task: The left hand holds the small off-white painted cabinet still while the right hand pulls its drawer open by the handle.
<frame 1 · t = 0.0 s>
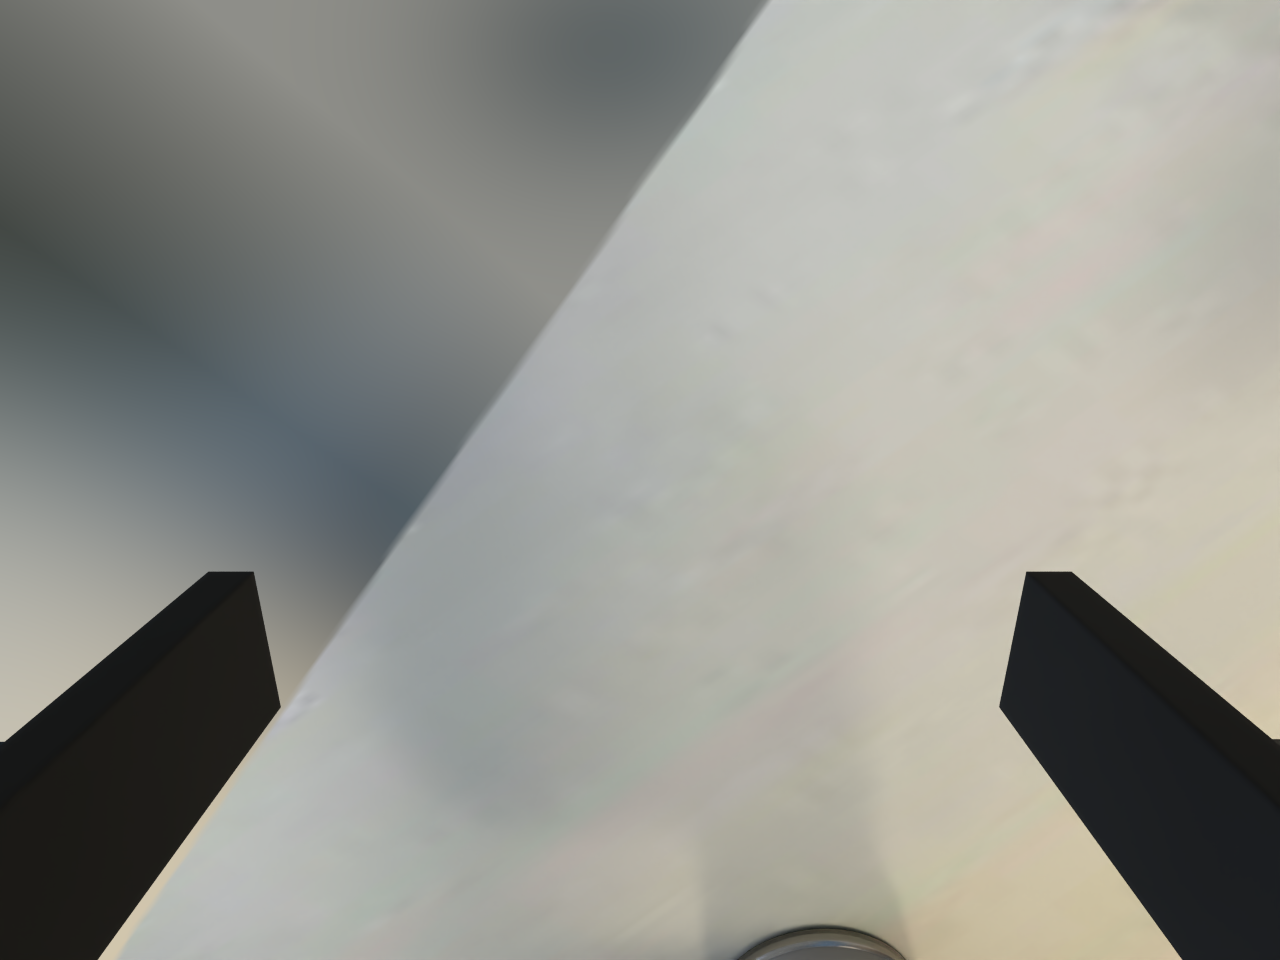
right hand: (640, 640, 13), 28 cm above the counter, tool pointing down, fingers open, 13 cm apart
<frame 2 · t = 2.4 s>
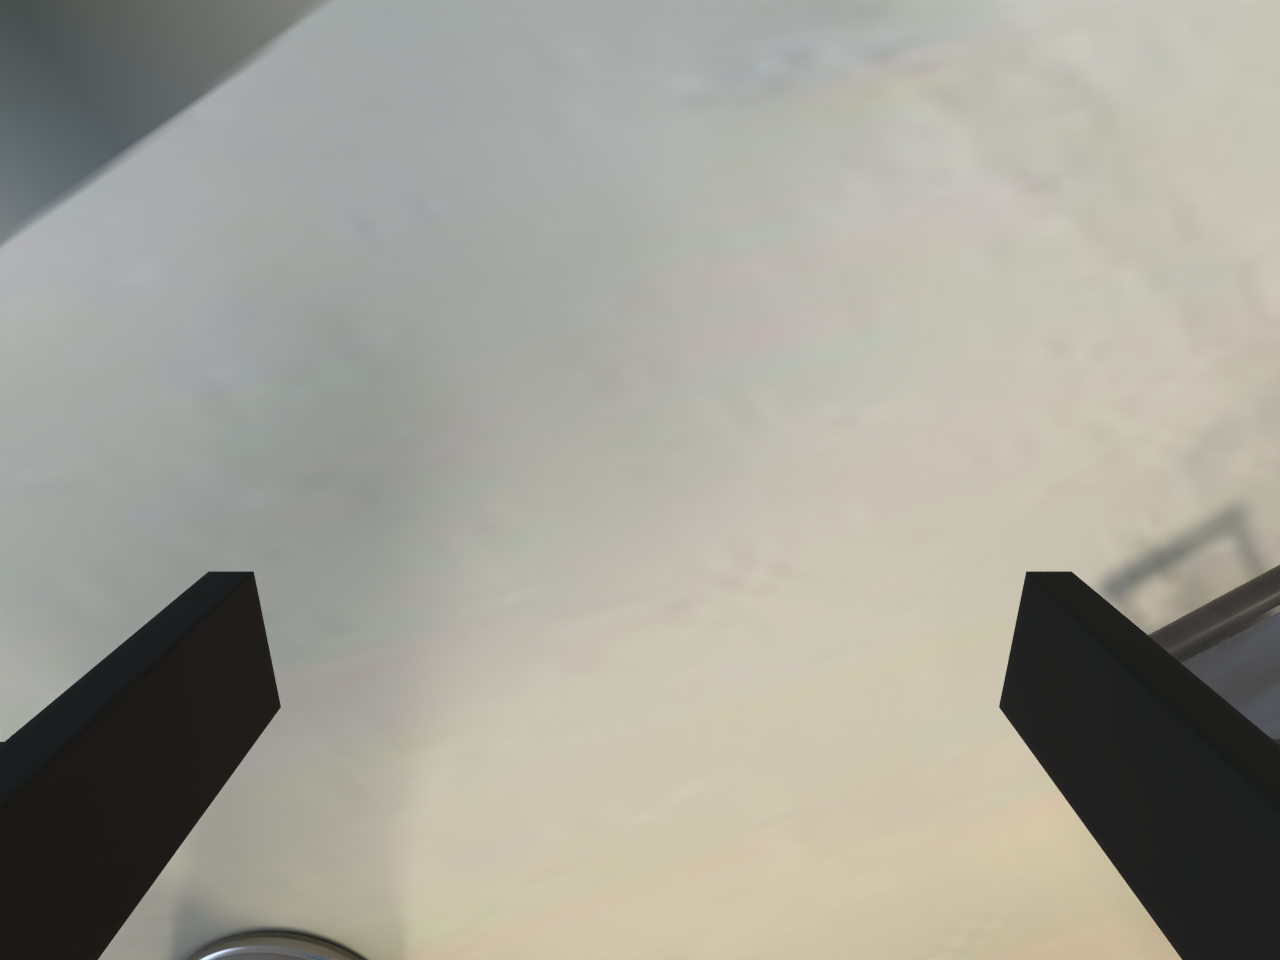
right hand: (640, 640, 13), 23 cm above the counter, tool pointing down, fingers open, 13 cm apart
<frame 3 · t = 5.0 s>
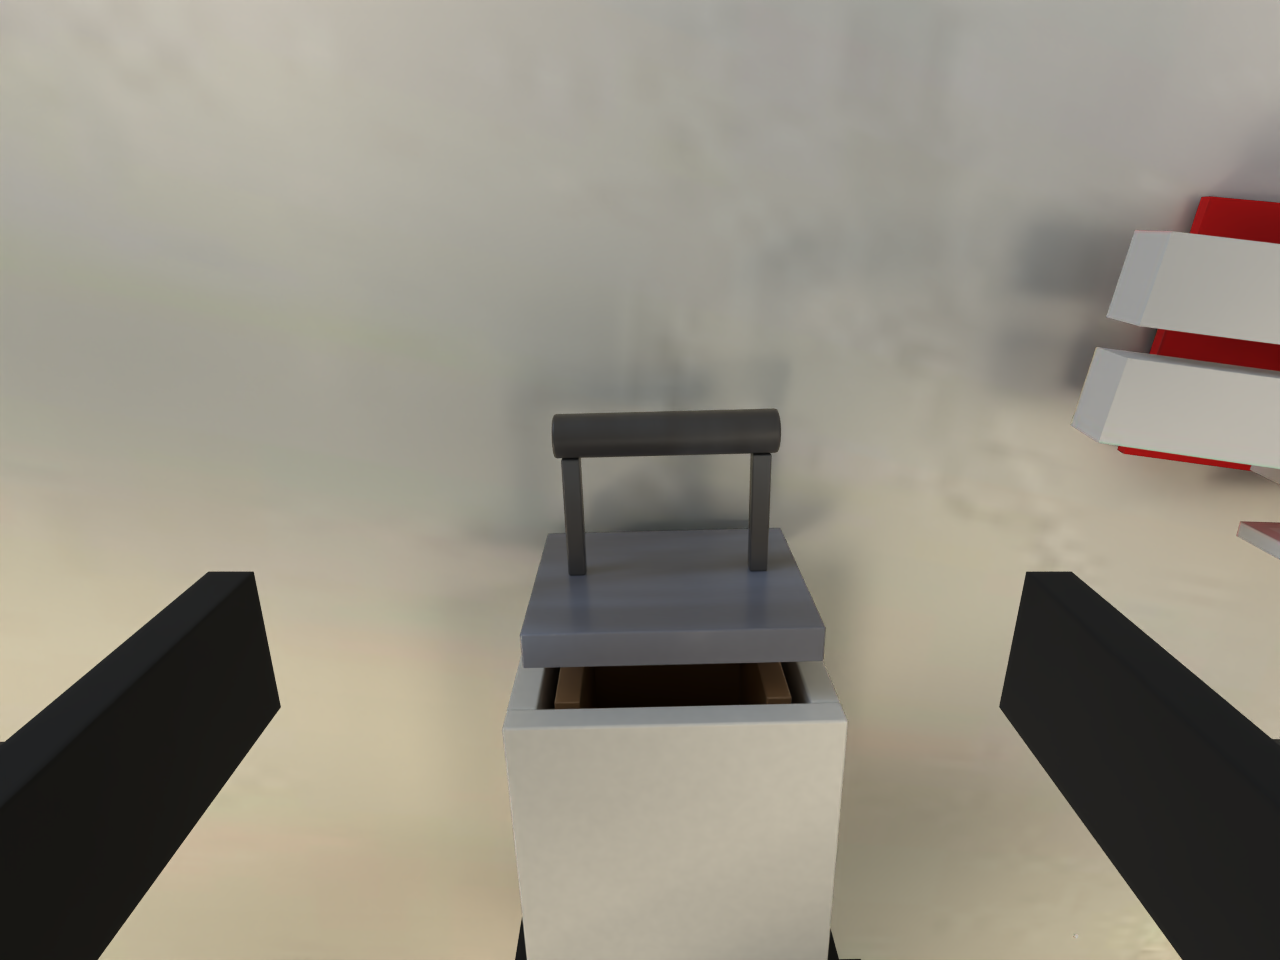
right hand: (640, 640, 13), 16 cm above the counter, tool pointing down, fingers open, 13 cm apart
cabinet: (666, 745, 33), on the counter, touching left hand
drawer: (669, 697, 27), point 5 cm above the counter, slide at 1.4 cm
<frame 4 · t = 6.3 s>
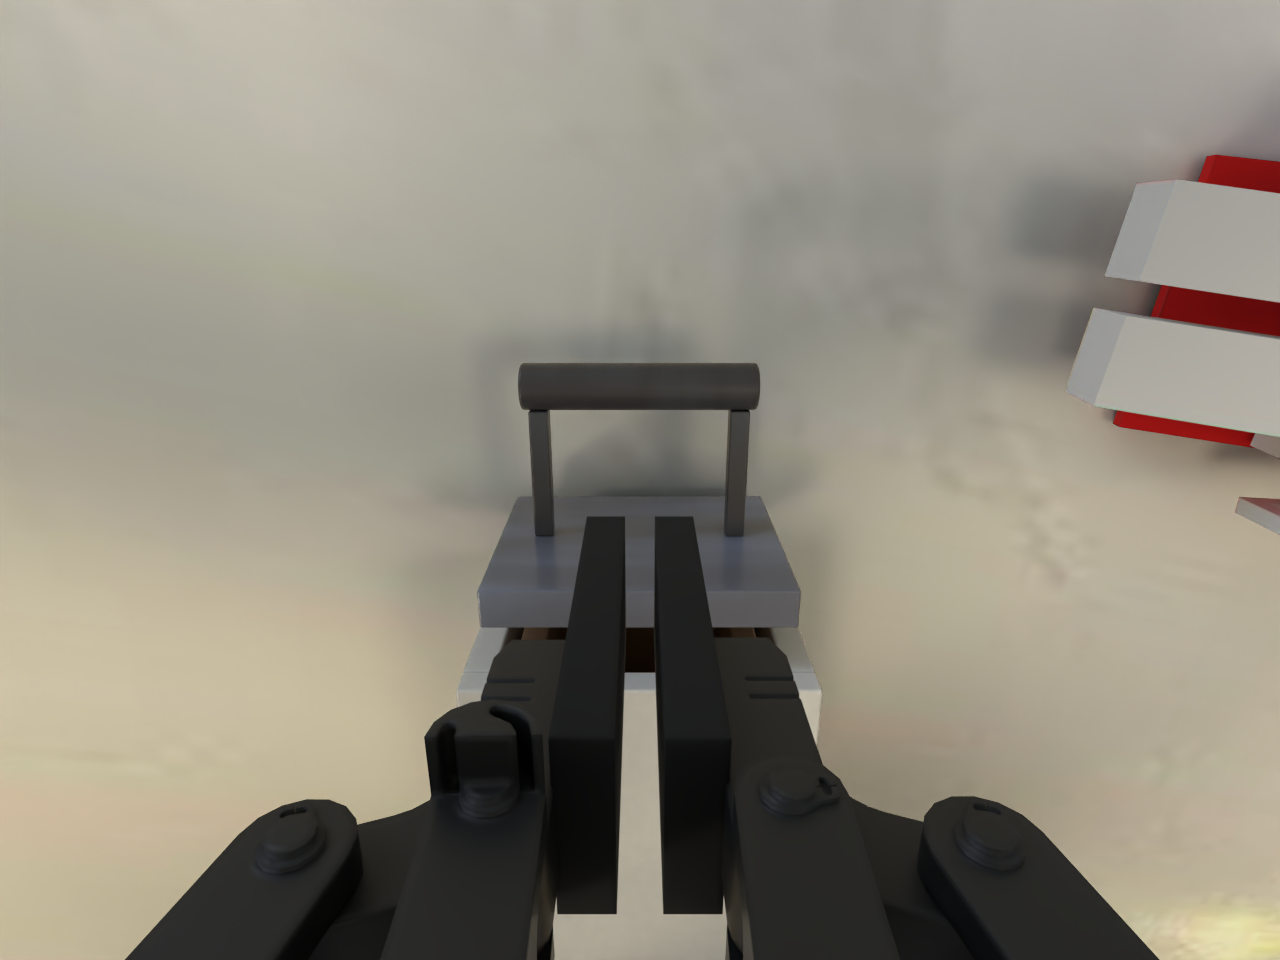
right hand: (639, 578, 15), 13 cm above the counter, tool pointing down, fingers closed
cabinet: (639, 725, 32), on the counter, touching left hand
drawer: (639, 669, 26), point 5 cm above the counter, slide at 1.4 cm
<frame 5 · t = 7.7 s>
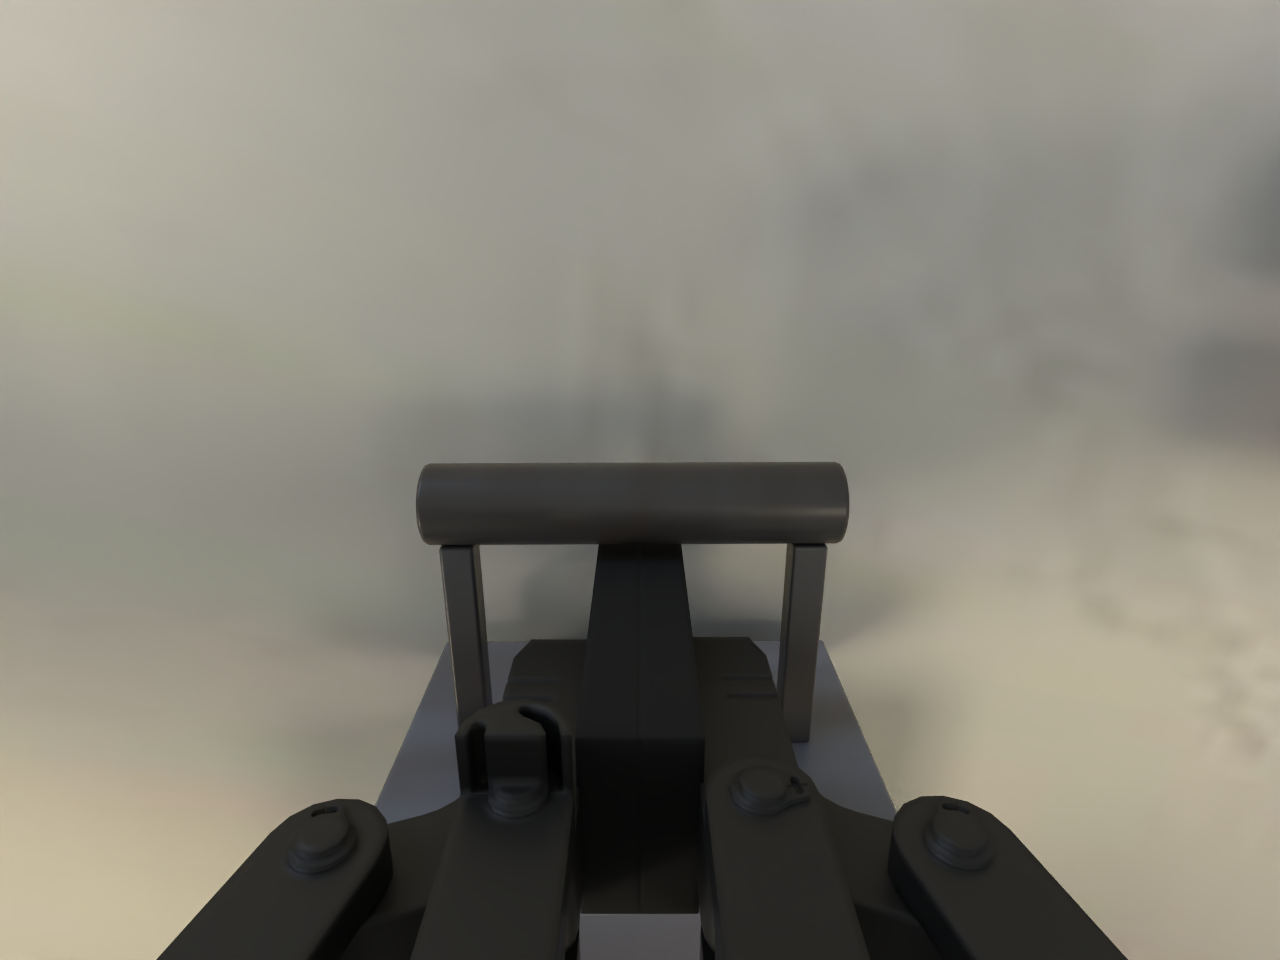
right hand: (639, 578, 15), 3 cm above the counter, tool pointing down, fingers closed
drawer: (635, 933, 16), point 5 cm above the counter, slide at 1.5 cm, touching right hand
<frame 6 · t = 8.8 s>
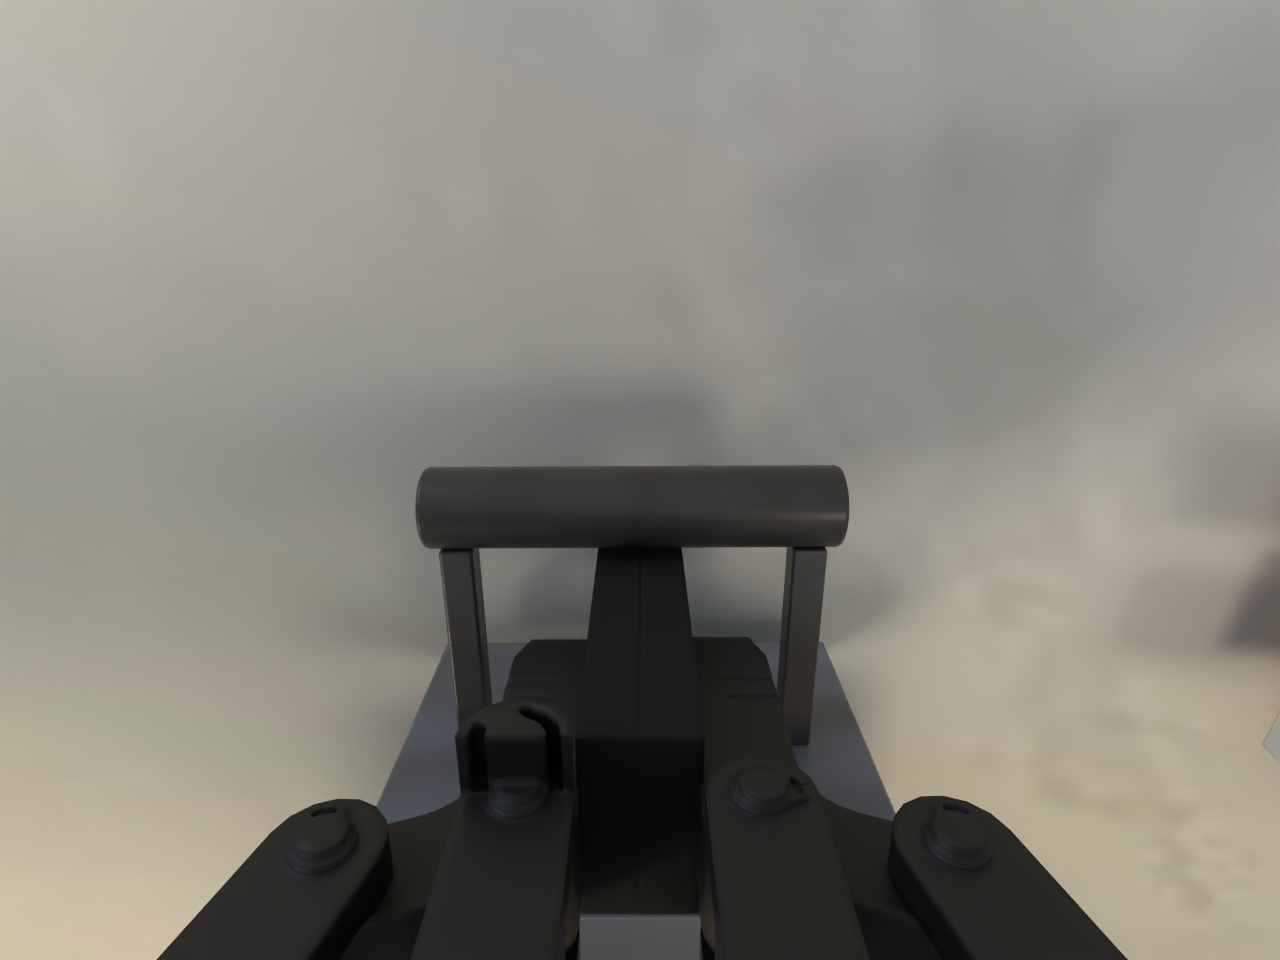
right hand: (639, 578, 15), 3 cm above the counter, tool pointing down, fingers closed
drawer: (635, 934, 16), point 5 cm above the counter, slide at 7.2 cm, touching right hand
when the left hand's fingers open (4 cm above the counter, at t = 10.8 s): cabinet stays where it is, on the counter.
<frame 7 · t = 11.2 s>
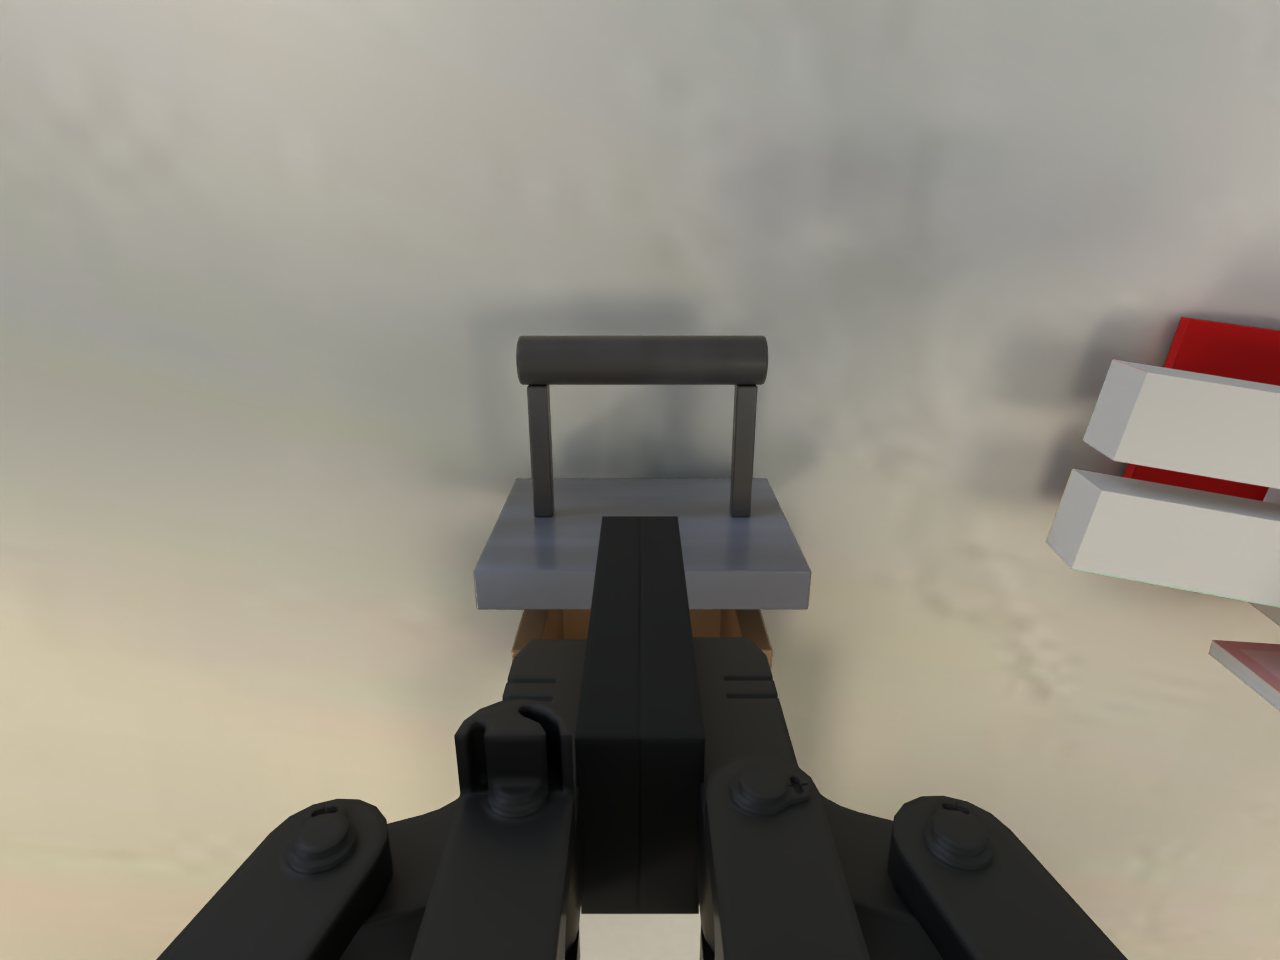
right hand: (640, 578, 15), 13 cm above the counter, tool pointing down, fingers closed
cabinet: (641, 824, 33), on the counter
drawer: (641, 655, 25), point 5 cm above the counter, slide at 7.3 cm
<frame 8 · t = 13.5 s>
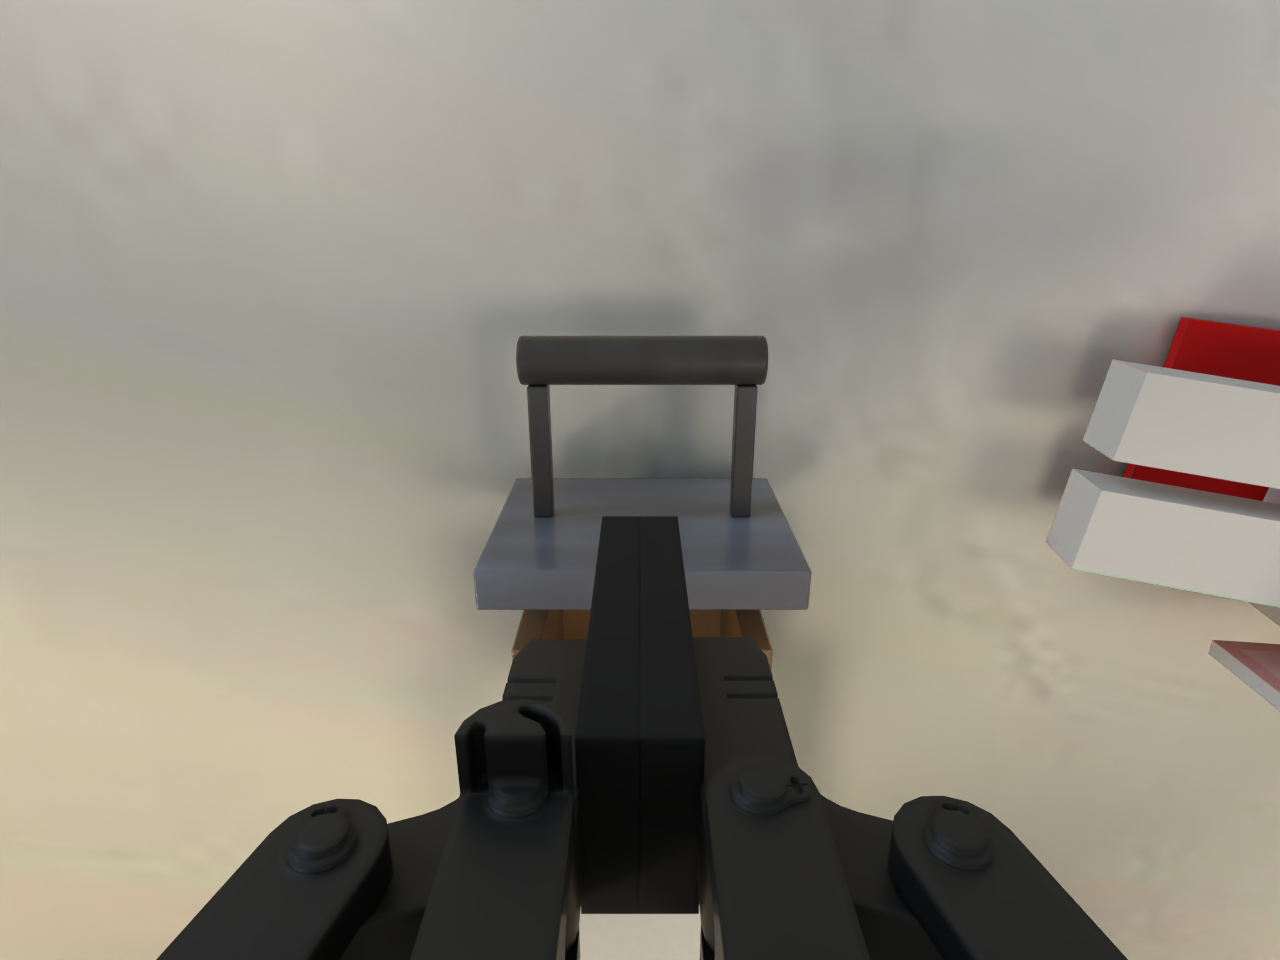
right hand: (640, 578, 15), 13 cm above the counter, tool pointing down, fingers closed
cabinet: (641, 824, 33), on the counter
drawer: (641, 656, 25), point 5 cm above the counter, slide at 7.3 cm
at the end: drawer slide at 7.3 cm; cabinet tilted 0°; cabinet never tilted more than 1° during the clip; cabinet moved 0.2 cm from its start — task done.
